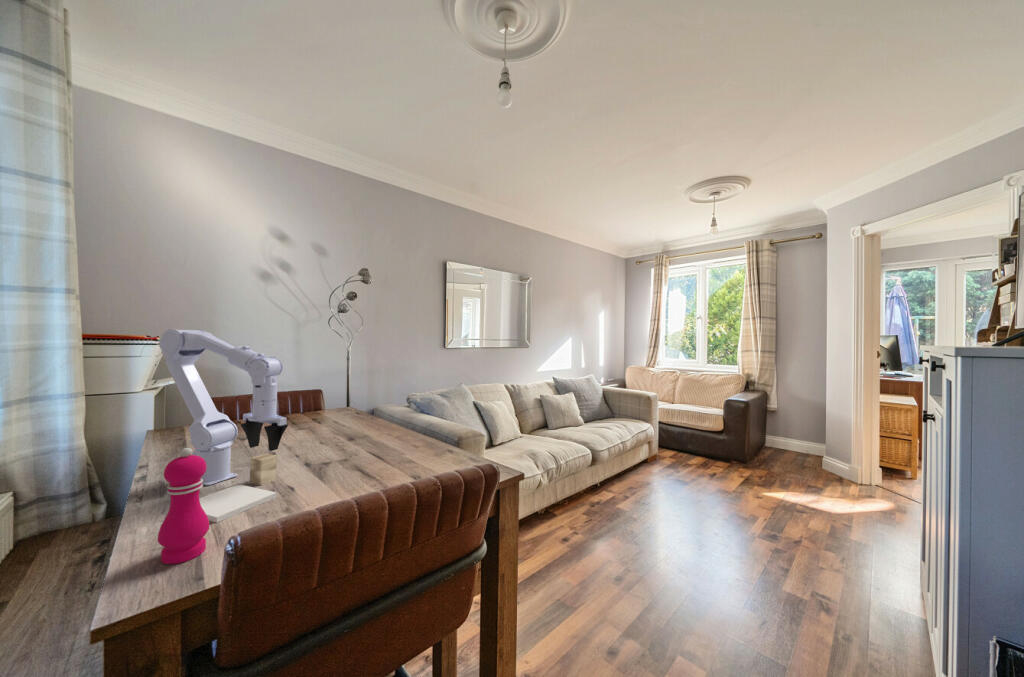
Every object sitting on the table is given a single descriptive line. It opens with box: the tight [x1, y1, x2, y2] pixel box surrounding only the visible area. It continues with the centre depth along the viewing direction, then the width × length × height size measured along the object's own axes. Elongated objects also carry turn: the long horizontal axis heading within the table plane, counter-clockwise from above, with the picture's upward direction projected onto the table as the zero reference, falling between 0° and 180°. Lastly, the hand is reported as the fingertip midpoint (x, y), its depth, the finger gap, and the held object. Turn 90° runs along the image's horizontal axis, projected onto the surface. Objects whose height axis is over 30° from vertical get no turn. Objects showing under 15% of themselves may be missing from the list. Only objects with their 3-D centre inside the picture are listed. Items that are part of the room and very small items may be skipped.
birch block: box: [249, 453, 277, 486], centre depth 104 cm, size 4×4×7 cm
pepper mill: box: [157, 447, 210, 565], centre depth 69 cm, size 7×7×20 cm
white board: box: [199, 484, 278, 523], centre depth 89 cm, size 14×14×1 cm
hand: (263, 448), depth 104 cm, fingers open, 7 cm apart
